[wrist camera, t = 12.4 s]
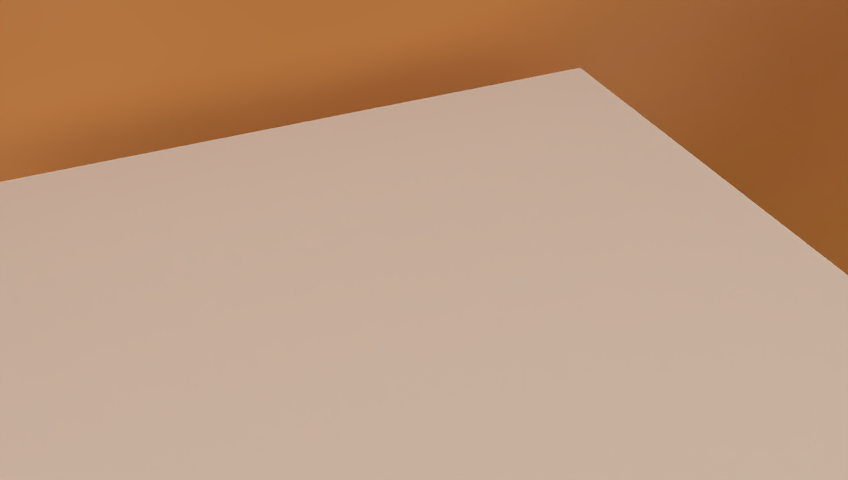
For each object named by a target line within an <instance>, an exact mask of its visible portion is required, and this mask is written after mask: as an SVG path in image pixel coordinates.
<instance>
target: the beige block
mask: <svg viewBox="0 0 848 480" xmlns="http://www.w3.org/2000/svg"><path fill="white" fill-rule="evenodd" d="M0 480H848V275H847V274H845V273H844V272H843V271H842V270H840V269H839V268H838V267H836V266H835V265H834V264H833V263H831V262H830V261H829V260H827V259H826V258H825V257H824V256H822V255H821V254H820V253H818V252H817V251H816V250H814V249H813V248H812V247H811V246H809V245H808V244H807V243H805V242H804V241H803V240H802V239H800V238H799V237H798V236H796V235H795V234H794V233H793V232H791V231H790V230H789V229H787V228H786V227H785V226H784V225H782V224H781V223H780V222H778V221H777V220H776V219H774V218H773V217H772V216H771V215H769V214H768V213H767V212H765V211H764V210H763V209H762V208H760V207H759V206H758V205H756V204H755V203H754V202H753V201H751V200H750V199H749V198H747V197H746V196H745V195H744V194H742V193H741V192H740V191H738V190H737V189H736V188H734V187H733V186H732V185H731V184H729V183H728V182H727V181H725V180H724V179H723V178H722V177H720V176H719V175H718V174H716V173H715V172H714V171H713V170H711V169H710V168H709V167H707V166H706V165H705V164H704V163H702V162H701V161H700V160H698V159H697V158H696V157H695V156H693V155H692V154H691V153H689V152H688V151H687V150H685V149H684V148H683V147H682V146H680V145H679V144H678V143H676V142H675V141H674V140H673V139H671V138H670V137H669V136H667V135H666V134H665V133H664V132H662V131H661V130H660V129H658V128H657V127H656V126H655V125H653V124H652V123H651V122H649V121H648V120H647V119H645V118H644V117H643V116H642V115H640V114H639V113H638V112H636V111H635V110H634V109H633V108H631V107H630V106H629V105H627V104H626V103H625V102H624V101H622V100H621V99H620V98H618V97H617V96H616V95H615V94H613V93H612V92H611V91H609V90H608V89H607V88H605V87H604V86H603V85H602V84H600V83H599V82H598V81H596V80H595V79H594V78H593V77H591V76H590V75H589V74H587V73H586V72H585V71H584V70H582V69H581V68H576V69H571V70H566V71H561V72H556V73H551V74H546V75H541V76H536V77H531V78H526V79H521V80H515V81H510V82H505V83H500V84H495V85H490V86H485V87H480V88H475V89H470V90H465V91H460V92H455V93H449V94H444V95H439V96H434V97H429V98H424V99H419V100H414V101H409V102H404V103H399V104H394V105H389V106H383V107H378V108H373V109H368V110H363V111H358V112H353V113H348V114H343V115H338V116H333V117H328V118H322V119H317V120H312V121H307V122H302V123H297V124H292V125H287V126H282V127H277V128H272V129H267V130H262V131H256V132H251V133H246V134H241V135H236V136H231V137H226V138H221V139H216V140H211V141H206V142H201V143H196V144H190V145H185V146H180V147H175V148H170V149H165V150H160V151H155V152H150V153H145V154H140V155H135V156H130V157H124V158H119V159H114V160H109V161H104V162H99V163H94V164H89V165H84V166H79V167H74V168H69V169H64V170H58V171H53V172H48V173H43V174H38V175H33V176H28V177H23V178H18V179H13V180H8V181H3V182H0Z"/></svg>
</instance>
